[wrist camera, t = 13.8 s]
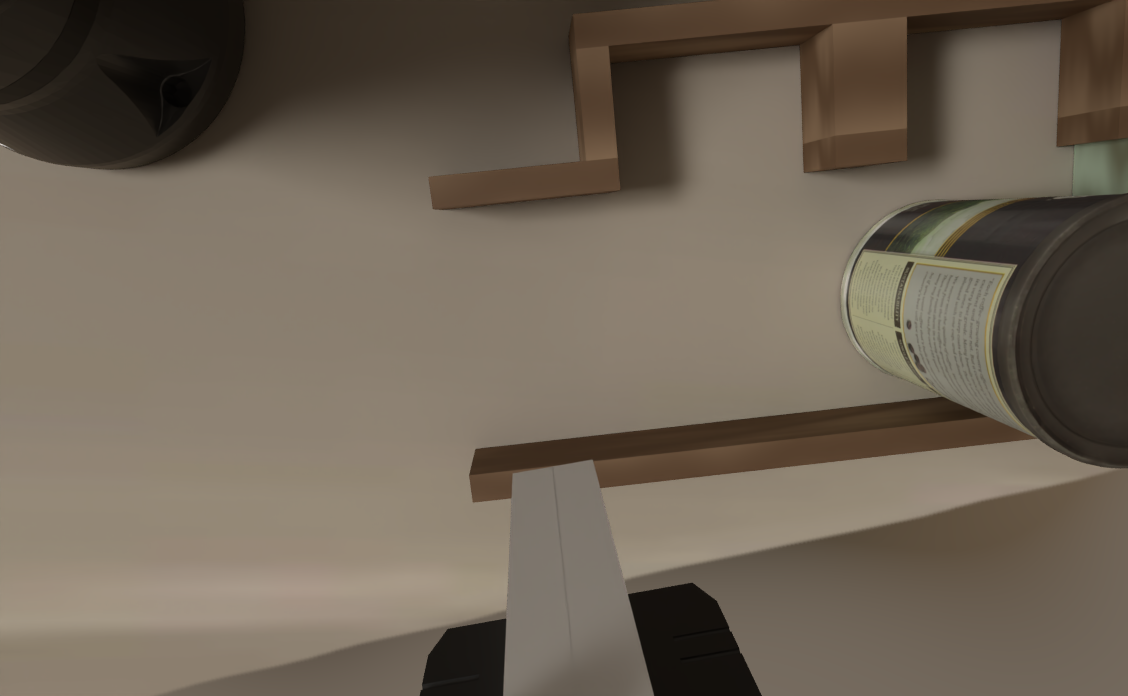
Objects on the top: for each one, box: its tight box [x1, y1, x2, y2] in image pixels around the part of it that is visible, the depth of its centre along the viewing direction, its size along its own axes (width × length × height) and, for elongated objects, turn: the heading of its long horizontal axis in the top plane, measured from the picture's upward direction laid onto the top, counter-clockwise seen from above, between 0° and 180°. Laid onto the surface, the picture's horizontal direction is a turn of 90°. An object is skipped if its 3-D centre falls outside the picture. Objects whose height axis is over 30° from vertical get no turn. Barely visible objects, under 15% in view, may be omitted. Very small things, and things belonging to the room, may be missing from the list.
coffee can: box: [840, 193, 1128, 468], centre depth 32 cm, size 10×10×14 cm
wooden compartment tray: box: [429, 0, 1128, 502], centre depth 35 cm, size 23×36×5 cm, turn 96°
